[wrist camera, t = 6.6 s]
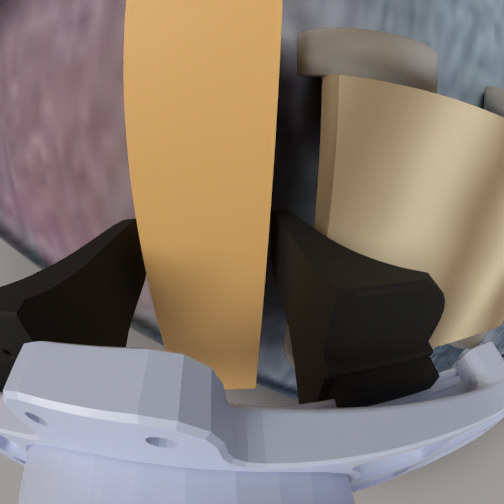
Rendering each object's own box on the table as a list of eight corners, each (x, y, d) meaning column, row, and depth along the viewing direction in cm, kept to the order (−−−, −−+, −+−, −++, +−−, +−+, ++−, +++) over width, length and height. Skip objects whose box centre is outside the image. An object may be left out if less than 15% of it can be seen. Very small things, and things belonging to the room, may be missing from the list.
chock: (262, 25, 9) (282, -8, 5) (249, 319, 18) (255, 388, 14) (165, 28, 9) (126, 0, 5) (185, 319, 18) (177, 387, 13)
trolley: (515, 103, 10) (573, 127, 6) (462, 294, 18) (494, 339, 14) (285, 42, 9) (319, 19, 5) (278, 319, 18) (290, 389, 13)
